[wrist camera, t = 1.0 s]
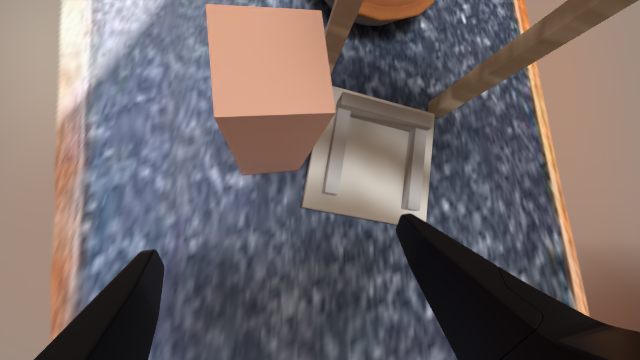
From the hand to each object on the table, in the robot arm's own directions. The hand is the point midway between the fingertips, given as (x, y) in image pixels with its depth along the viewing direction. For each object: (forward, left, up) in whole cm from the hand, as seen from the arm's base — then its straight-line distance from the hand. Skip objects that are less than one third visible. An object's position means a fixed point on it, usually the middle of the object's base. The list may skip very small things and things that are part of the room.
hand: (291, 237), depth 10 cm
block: (+6, +4, -13) cm, 15 cm away
